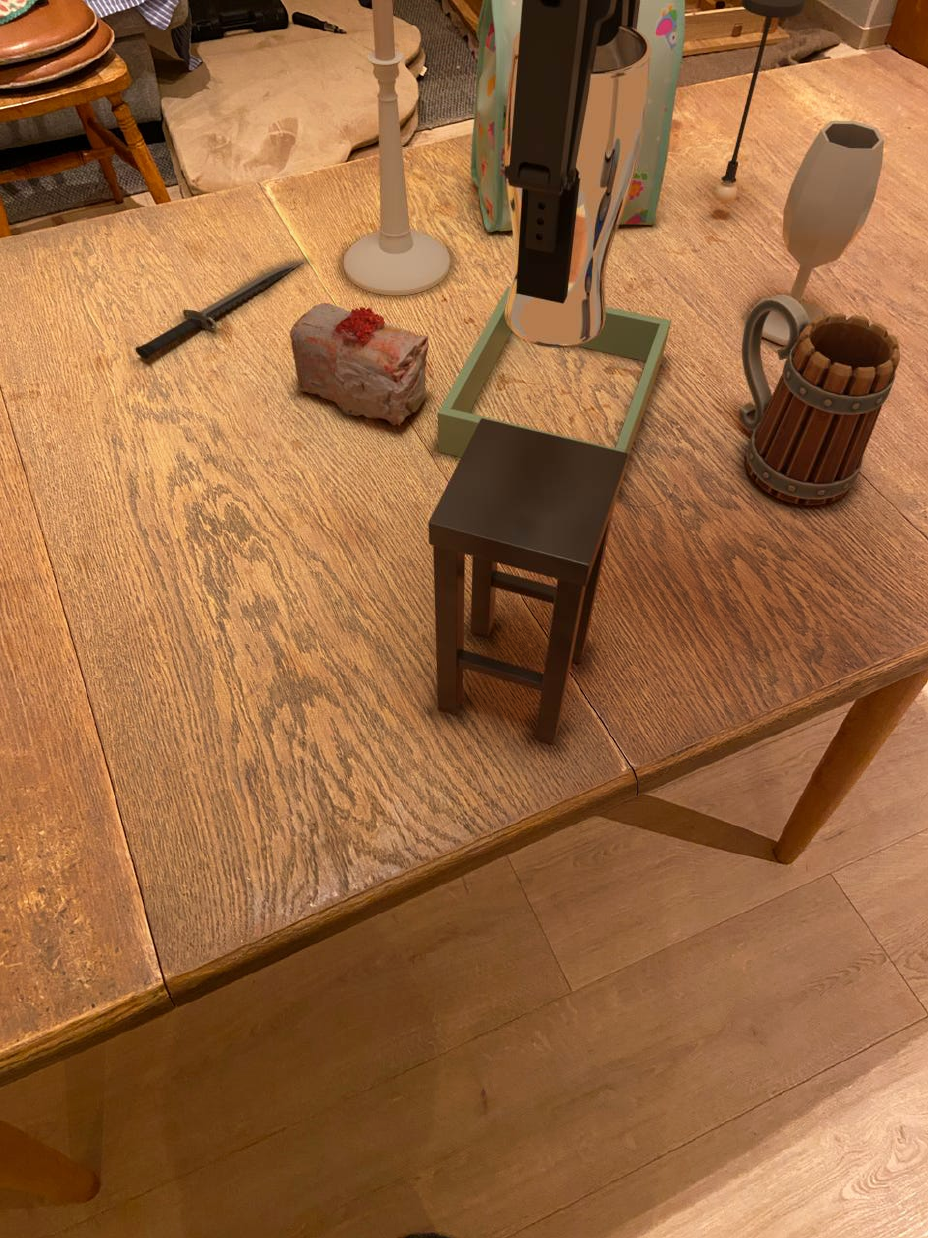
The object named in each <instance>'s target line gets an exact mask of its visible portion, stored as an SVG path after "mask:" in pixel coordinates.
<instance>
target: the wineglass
mask: <svg viewBox="0 0 928 1238" xmlns="http://www.w3.org/2000/svg"><path fill="white" fill-rule="evenodd" d="M884 146H885V139H884V137H883V135H882V134H881V132H880V130H879V129H878V128H877V127H875V126H872V125H868V124H865V123H862V122H860V121H856V120H830V121H829V122H828V123H826V125H824V126H823V127H822V128H821V129H820V131H819V132H818V133H817V135H816V137H815V138H814V140H813V142H812V143H811V145H810V146H809V148H808V149H807V151H806V153H805V154H804V157H803V160H802V161H801V163H800V165H799V168H798V170H797V172H796V175H795V176H794V179H793V181H792V183H791V185H790V189H789V192H788V195H787V198H786V200H785V204H784V207H783V213H782V214H783V217H782V234H781V237H782V240H783V242H784V245H785V247H786V250H787V252H788V253H789V255H791V257H792V258H793V259H794V260H795V261H796V262H797V263H798V265H799V267H798V270H797V274H796V276H795V279H794V282H793V285H792V288H791V290H790V294H789V296H790V297H792V298H794V299H795V300H797V301H798V302H799V303H800V304H801V305H802V306H803V308H804V310H805V311H806V313H807V316H808V318H809V323H811V322H812V321H813V320H814V319H816V318H818V317H820V316H821V317H825V316H824V313H823V310H822V308H821V307H820V306H817V305H815V304H812V303H809V302H807V301H804V300H803V298H804V295H805V292H806V289H807V286H808V283H809V280H810V278H811V275H812V272H813V269H815V268H818V267H820V266H824V265H827V264H829V263H833V262H836V261H838V260H839V259H840V258H841V257H842V256H843V255H844V254H845V252H847V251H848V250H849V248H850V246H851V245H852V243H854V240H855V239H856V237H857V236H858V235H859V233H861V230H862V229H863V227H864V226H865V225H866V222H867V219H868V216H869V214H870V211H871V209H872V206H873V203H874V200H875V197H876V193H877V190H878V185H879V180H880V175H881V172H882V166H883V161H884V159H883V158H884V148H885V147H884ZM771 297H772V296H763V297H762V298H761V299H760V300H759V301H758V302H757V303H756V304H755V305H754V307H755V306H756V305H758V304H759V303H760V302H763V301H765V300H767V299H769V298H771ZM752 310H753V308H751V310H750V311H749V312H748V315H749V314H750V313H751V311H752ZM789 336H790V330H789V326H788V323H787V321H786V320H785V318H784V317H783V316H782V315H780V314H779V313H777V312H775V311H771V312H770V313H769V315H768V316H767V318H766V320H765V323H764V327H763V332H762V338H764V339H767V340H769V341H771V342H773V343H777V344H778V345H781V346H786V345H787V343H788V341H789Z"/></svg>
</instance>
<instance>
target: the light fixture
mask: <svg viewBox="0 0 928 1238" xmlns="http://www.w3.org/2000/svg"><path fill="white" fill-rule="evenodd" d="M807 1H808V0H740V4H741V7H742V8H744V10H746V11H748V12H750V13H752V14H753V15H757V16H761V17H765V21H764V25H763V27H764V29H763V32H762V35H761V36H762V37H761V39H760V43H759V48H758V53H757V56H756V60H755V64H754V69H753V71H752V77H751V81H750V85H749V88H748V93H747V97H746V101H745V105H744V110H743V113H742V116H741V122H740V126H739V129H738V132H737V133H738V134H737V137H736V141H735V145H734V150H733V153H732V155H731V160H729V161H727V166H726V169H725V172H724V173H725V174H724V175H723V176H722V177H721V181H722V182H720V183H719V184H718V185H717V186H716V188H715V191H714V197H715V199H716V201H717V202H718V203H720V204H723V205H728V204H730V203H732V202H733V201H734V200H735V199H736V198H737V195H738V188H737V185H736V184H735V183H736V182H737V178H736V175H737V171H738V169H739V168H738V167H739V162H738V156H739V151H740V147H741V144H742V143H741V142H742V139H743V134H744V131H745V127H746V123H747V118H748V115H749V112H750V106H751V102H752V99H753V95H754V91H755V87H756V83H757V79H758V75H759V71H760V67H761V64H762V59H763V55H764V51H765V47H766V43H767V40H768V39H767V38H768V35H769V31H770V28H771V26H772V23H773V19H785V18H792V17H796V16H798V15H801V14H802V13H803V12H804V10H805V8H806V4H807Z"/></svg>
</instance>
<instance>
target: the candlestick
mask: <svg viewBox="0 0 928 1238" xmlns="http://www.w3.org/2000/svg"><path fill="white" fill-rule="evenodd" d="M371 7H372V9H371V10H372V23H373V24H372V25H373V26H372V27H373V39H374V51H371V52H369V54H367V60H368V61H369V63H371V64H372V65H373V66H372V67H373V71H372V74H373V77H374V78H375V79H376V80H377V85H378V87H379V91H378V93H377V96H376V98H377V104H378V105H377V107H378V108H377V111H378V112H377V113H378V159H379V161H378V163H379V164H378V165H379V169H378V170H379V221H380V223H379V230H377V231H374V232H371V233H369V234H366V235H364V236H362V237H361V238H359V239H357V240H356V241H355V242H354V243H353V244H351V246H349V248H348V249H347V250H346V252H345V253H344V257H343V269H344V274H345V275H346V277H347V279H349V281H350V282H351V283H353V284H354V285H355V286H356V287H358V288H360V289H362V290H364V291H366V292H370V293H373V294H376V295H377V294H378V295H383V296H407V295H414V294H418V293H420V292H424V291H428V290H429V289H432V288H433V287H435V286H437V285H438V284H440V283H441V282H442V281H443V280H444V279H445V278H446V277H447V276H448V274H449V272H450V269H451V257H450V254H449V251H448V249H447V248H446V247H445V245H443V243H442V242H440V241H439V240H438V239H436V238H435V237H433V236H431V235H429V234H427V233H425V232H421V231H419V230H414V229H411V225H410V215H409V207H408V196H407V186H406V185H407V184H406V175H405V174H406V173H405V164H404V163H405V162H404V154H403V145H402V134H401V133H402V132H401V123H400V114H399V113H400V112H399V102H398V99H399V98H398V97H399V94H398V93H397V92H396V83H397V80H396V79H398V78H399V76H400V68H399V64H400V62H402V61H403V59H404V54H403V53H402V52H400V51H399V50H396V43H395V26H394V25H395V24H394V23H395V22H394V5H393V0H371Z"/></svg>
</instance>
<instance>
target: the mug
mask: <svg viewBox="0 0 928 1238" xmlns="http://www.w3.org/2000/svg"><path fill="white" fill-rule="evenodd" d="M770 297H771V298H769V299H767V300H765V301H763V302H760V303H759V304H758V305H756V304H755V305H756V306H755V305H754V306H753V307H752V309H753V310H752V309H751V310H752V311H751V310H750V311H751V313H750V314H749V313H748V316H747V318H746V321H745V324H744V329H743V334H742V342H741V362H742V368H743V372H744V376H745V379H746V382H747V385H748V389H749V392H750V394H751V397H752V400H753V402H754V404H753V403H752V402H748V403H746V404H744V405H741V406H740V407H739V408H738V415H737V416H738V418H739V422H740V424H741V425H742V426H743V428H745V429H746V430H747V431H751V432H752V434H751V436H750V438H749V441H748V443H747V447H746V452H745V453H746V454H745V459H746V461H745V466H746V470H747V471H748V473H749V476H750V477H751V478H752V479H753V480H754V482H755V483H756V484H757V485H758V486H759V487H760V488H761V489H762V490H763V491H765V492H766V493H768V494H770V495H771V496H773V497H774V498H777V499H779V500H781V501H783V502H787V503H791V504H795V505H804V506H817V505H824V504H827V503H832V502H836V500H839V499H841V498H842V497H844V496H845V495H846V494H847V491H849V490H850V489H851V487H852V486H853V485H854V483H856V480H857V478H858V476H859V473H860V471H861V468H862V466H863V461H864V454H865V452H866V449H867V447H868V444H869V441H870V439H871V436H872V433H873V431H874V428H875V426H876V423H877V420H878V418H879V416H880V413H881V411H882V408H883V405H884V404H885V403H886V401H887V399H888V397H889V396H890V392H891V390H892V387H893V386H894V385H893V384H894V383H895V380H896V371H897V370H898V369H897V368H898V366H899V364H900V360H901V351H900V344H899V343H900V342H899V341H898V338H897V337H896V336H895V335H893V334H889V331H888V329H887V327H886V326H884V325H883V324H881V323H879V322H873V323H872V324H870V322H869V321H870V320H869V319H868V318H867V317H865V316H862V315H858V314H853V315H851V316H850V317H849V318H847V316H846V314H844V313H841V312H840V313H839V312H836V313H832V314H830V315H829V316H824V317H821V316H820V317H818V318H816V319H814V320H813V321H812V322H811V323H809V318H808V316H807V313H806V311H805V310H804V308H803V306H802V305H801V304H800V303H799V302H798V301H797V300H795V299H794V298H792V297H790V295H787V294H784V293H783V294H776V295H774V296H770ZM771 311H775V312H777V313H779V314H780V315H782V316H783V317H784V318H785V320H786V321H787V323H788V326H789V330H790V336H789V341H788V343H787V345H783V346H782V347H780V348H778V349H777V350H776V353H777V355H778V356H777V357H778V361H784V360H785V362H784V364H783V369H782V373H781V375H780V377H779V380H778V381H777V384H776V386H775V389H774V391H773V392H772V390H771V388H770V384H769V381H768V379H767V376H766V373H765V369H764V366H763V365H764V364H763V361H762V352H761V351H762V350H761V347H762V338H763V337H762V332H763V327H764V323H765V320H766V318H767V316H768V315H769V313H770V312H771Z"/></svg>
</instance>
